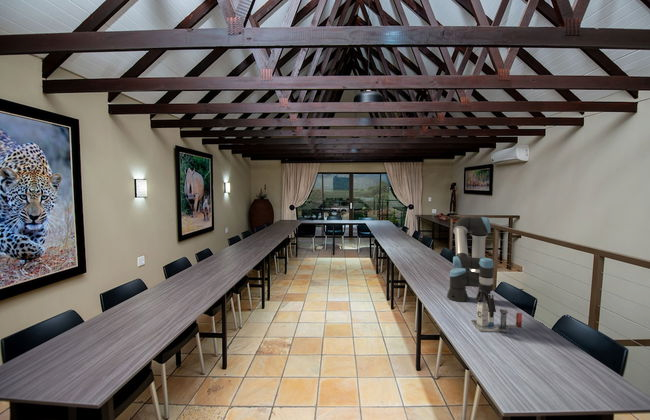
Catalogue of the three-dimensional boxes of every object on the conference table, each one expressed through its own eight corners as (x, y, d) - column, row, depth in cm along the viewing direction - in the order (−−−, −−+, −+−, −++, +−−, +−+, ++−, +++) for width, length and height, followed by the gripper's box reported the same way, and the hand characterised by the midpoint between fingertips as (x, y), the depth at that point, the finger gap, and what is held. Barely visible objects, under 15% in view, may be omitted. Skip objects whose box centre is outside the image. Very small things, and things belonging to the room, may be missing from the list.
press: (470, 322, 189) (471, 303, 188) (497, 322, 188) (497, 303, 187) (481, 332, 175) (481, 312, 175) (509, 333, 174) (510, 312, 174)
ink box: (487, 321, 186) (488, 298, 185) (493, 325, 181) (494, 301, 180) (476, 323, 184) (476, 300, 183) (481, 326, 180) (482, 303, 179)
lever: (505, 325, 178) (506, 312, 177) (519, 326, 178) (520, 312, 177) (508, 328, 175) (508, 314, 175) (522, 328, 175) (523, 314, 174)
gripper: (470, 277, 194) (470, 308, 195) (489, 290, 169) (488, 326, 170) (482, 277, 193) (481, 308, 195) (503, 290, 168) (502, 326, 170)
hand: (485, 316), depth 183 cm, fingers open, 13 cm apart
